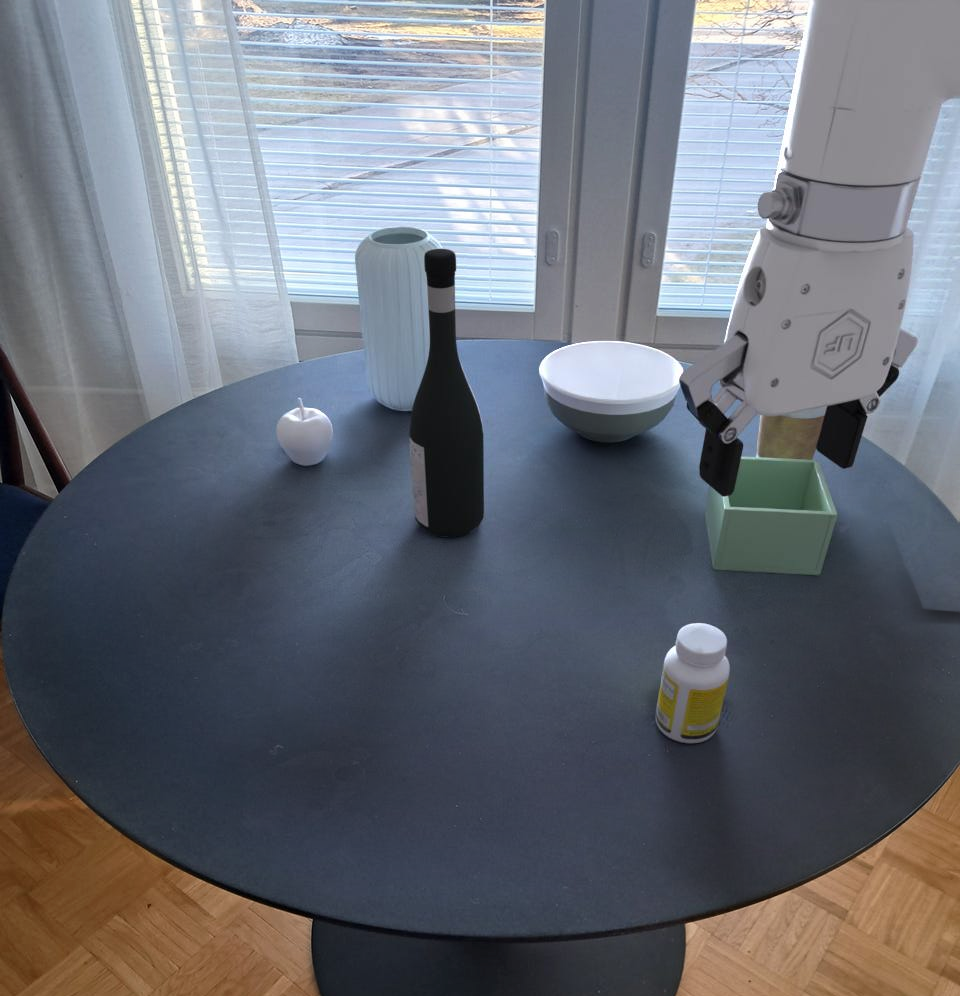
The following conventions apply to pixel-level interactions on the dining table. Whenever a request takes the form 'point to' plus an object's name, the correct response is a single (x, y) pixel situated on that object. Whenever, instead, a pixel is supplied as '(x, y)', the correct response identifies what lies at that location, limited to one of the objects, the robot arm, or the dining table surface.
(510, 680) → the dining table surface
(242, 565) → the dining table surface
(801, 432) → the coffee cup
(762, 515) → the bin
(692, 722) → the supplement bottle
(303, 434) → the plain white apple
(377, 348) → the vase
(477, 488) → the wine bottle
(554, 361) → the bowl
